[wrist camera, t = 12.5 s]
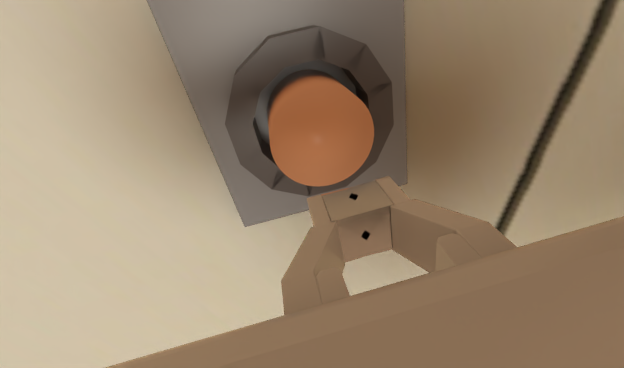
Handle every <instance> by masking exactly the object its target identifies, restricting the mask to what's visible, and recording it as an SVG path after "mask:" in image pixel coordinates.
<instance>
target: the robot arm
mask: <svg viewBox="0 0 624 368" xmlns="http://www.w3.org/2000/svg"><path fill="white" fill-rule="evenodd" d="M307 203H308V207H309V210H310V214H311V218H312V222H313V226H314V227H312V228H310V230H309V232H308V234H307V235H306V237H305V239H304V241H303V243H302V244H301V246H300V248H299V250H298V252H297V253H296V255H295V257H294V259H293V261H292V262H291V264H290V266H289V268H288V270H287V271H286V273H285V275H284V277H283V279H282V280H281V284H282V294H283V304H284V316H280V317H277V318H274V319H270V320H267V321H263V322H260V323H256V324H253V325H250V326H246V327H243V328H239V329H236V330H232V331H229V332H226V333H222V334H219V335H215V336H212V337H208V338H205V339H202V340H198V341H195V342H191V343H188V344H184V345H181V346H178V347H174V348H171V349H167V350H164V351H160V352H157V353H154V354H150V355H147V356H143V357H140V358H136V359H133V360H129V361H126V362H123V363H119V364H116V365H112V366H109V367H105V368H624V216H623V217H620V218H616V219H613V220H609V221H606V222H602V223H599V224H596V225H592V226H589V227H585V228H582V229H579V230H575V231H572V232H568V233H565V234H562V235H558V236H555V237H551V238H548V239H545V240H541V241H538V242H534V243H531V244H527V245H524V246H521V247H516V246H515V245H514V244H513V243H512V242H511V241H509V240H508V239H507V238H506V237H505V236H504V235H503V234H501V233H500V232H499V231H498V230H497V229H496V228H494V227H493V226H492V225H491V224H490V223H489V222H486V221H483V220H480V219H477V218H474V217H470V216H467V215H464V214H461V213H458V212H454V211H451V210H448V209H445V208H442V207H438V206H435V205H432V204H429V203H426V202H422V201H419V200H416V199H413V200H410V199H409V198H408V197H407V195H406V194H405V193H404V192H403V191H402V190H401V189H400V188H399V186H398V185H397V184H396V183H395V182H394V181H393V180H392V179H391V177H389V176H386V177H383V178H380V179H377V180H374V181H371V182H367V183H364V184H361V185H357V186H354V187H350V188H345V189H341V190H337V191H333V192H329V193H325V194H321V195H317V196H314V197H310V198H307ZM391 249H393V250H394V251H395V252H397V253H399V254H400V255H402V256H403V257H405V258H407V259H408V260H410V261H412V262H413V263H415V264H416V265H418V266H420V267H421V268H423V269H424V270H426V271H428V272H429V273H428V274H424V275H421V276H417V277H414V278H410V279H407V280H404V281H400V282H397V283H393V284H390V285H387V286H383V287H380V288H376V289H373V290H369V291H366V292H363V293H359V294H356V295H352V296H350V295H349V292H348V290H347V287H346V284H345V281H344V278H343V276H342V273H343V270H344V266H345V262H348V261H351V260H355V259H358V258H361V257H364V256H367V255H371V254H375V253H379V252H383V251H387V250H391Z"/></svg>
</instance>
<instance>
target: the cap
mask: <svg viewBox="0 0 624 368" xmlns="http://www.w3.org/2000/svg"><path fill="white" fill-rule="evenodd" d="M267 116H268V128H269V139H270V148H271V153H272V156H273V159H274V161H275V163H276V165H277V166H278V167H279V169H280V170H281V171H282V172H283V173H284V174H285V175H286V176H287V177H289V178H290V179H292V180H294V181H296V182H298V183H300V184H304V185H308V186H327V185H332V184H335V183H338V182H340V181H343V180H345V179H346V178H348V177H349V176H351V175H352V174H354V173H355V172H356V171H357V170H358V169H359V168H360V167H361V166H362V165H363V163H364V162H365V160H366V159H367V157H368V155H369V153H370V151H371V148H372V144H373V140H374V125H373V120H372V117H371V114H370V112H369V110H368V108H367V107H366V105H365V104H364V103H363V102H362V101H361V100H360V99H359V98H358V97H357V96H356V95H354V94H353V93H352V92H351V91H350V90H348V89H347V88H346V87H345V86H343V85H342V84H341V83H340V82H339V81H337V80H336V79H335V78H334V77H332V76H331V75H329V74H327V73H325V72H323V71H319V70H313V69H306V70H300V71H297V72H294V73H292V74H290V75H288V76H287V77H285V78H284V79H283V80H281V81H280V82H279V83H278V85H277V86H276V87H275V89H274V90H273V92H272V94H271V96H270V99H269V102H268V108H267Z"/></svg>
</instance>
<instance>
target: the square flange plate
mask: <svg viewBox="0 0 624 368" xmlns="http://www.w3.org/2000/svg"><path fill="white" fill-rule="evenodd" d="M147 2H148V4H149V7H150V9H151V11H152V14H153V16H154V18H155V21H156V23H157V25H158V28H159V30H160V32H161V35H162V37H163V39H164V41H165V44H166V46H167V48H168V51H169V53H170V55H171V58H172V60H173V62H174V65H175V67H176V69H177V71H178V74H179V76H180V78H181V81H182V83H183V85H184V88H185V90H186V92H187V95H188V97H189V99H190V102H191V104H192V106H193V108H194V111H195V113H196V115H197V118H198V120H199V122H200V125H201V127H202V129H203V132H204V134H205V136H206V138H207V141H208V143H209V145H210V148H211V150H212V152H213V155H214V157H215V159H216V162H217V164H218V166H219V169H220V171H221V173H222V175H223V178H224V180H225V182H226V185H227V187H228V189H229V192H230V194H231V196H232V199H233V201H234V203H235V205H236V208H237V210H238V212H239V215H240V217H241V219H242V222H243V224H244V226H245V227H247V226H251V225H255V224H258V223H262V222H266V221H270V220H273V219H277V218H281V217H285V216H288V215H292V214H296V213H300V212H303V211H307V210H309V207H308V203H307V198H310V197H314V196H317V195H321V194H325V193H329V192H333V191H337V190H341V189H345V188H350V187H354V186H357V185H361V184H364V183H367V182H371V181H374V180H377V179H380V178H383V177H386V176H389V177H391V179H392V180H393V181H394V182H395V183H396V184H397V185H398V186H401V185H404V184H407V139H406V84H405V30H404V0H147ZM306 69H313V70H319V71H323V72H325V73H327V74H329V75H331V76H332V77H334V78H335V79H336V80H337V81H339V82H340V83H341V84H342V85H343V86H345V87H346V88H347V89H348V90H350V91H351V92H352V93H353V94H354V95H356V96H357V97H358V98H359V99H360V100H361V101H362V102H363V103H364V104H365V105H366V107H367V108H368V110H369V112H370V114H371V117H372V120H373V125H374V140H373V144H372V148H371V151H370V153H369V155H368V157H367V159H366V160H365V162H364V163H363V165H362V166H361V167H360V168H359V169H358V170H357V171H356V172H355V173H354V174H352V175H351V176H349V177H348V178H346V179H345V180H343V181H340V182H338V183H335V184H332V185H327V186H308V185H304V184H300V183H298V182H296V181H294V180H292V179H290V178H289V177H287V176H286V175H285V174H284V173H283V172H282V171H281V170H280V169H279V167H278V166H277V165H276V163H275V161H274V159H273V156H272V153H271V148H270V139H269V128H268V116H267V108H268V102H269V99H270V96H271V94H272V92H273V90H274V89H275V87H276V86H277V85H278V83H279V82H280V81H281V80H283V79H284V78H285V77H287V76H288V75H290V74H292V73H294V72H297V71H300V70H306Z"/></svg>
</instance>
